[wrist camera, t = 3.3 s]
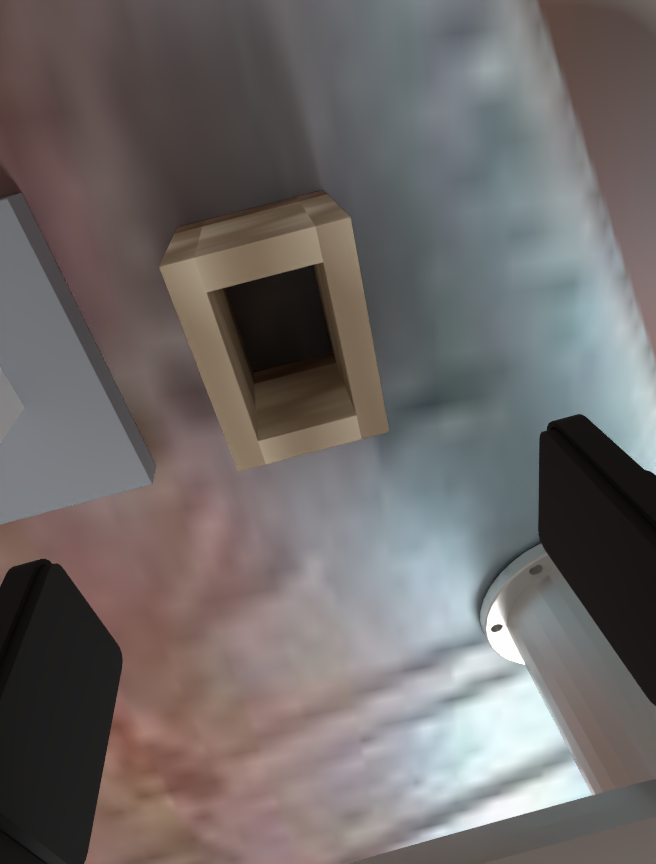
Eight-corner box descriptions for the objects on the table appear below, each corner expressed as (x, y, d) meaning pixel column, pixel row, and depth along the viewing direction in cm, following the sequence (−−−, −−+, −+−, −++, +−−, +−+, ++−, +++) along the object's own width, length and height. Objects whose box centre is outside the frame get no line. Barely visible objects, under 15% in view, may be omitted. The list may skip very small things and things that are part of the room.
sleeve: (323, 189, 21) (350, 217, 16) (358, 366, 26) (389, 431, 21) (177, 227, 21) (159, 267, 16) (237, 398, 26) (238, 471, 21)
